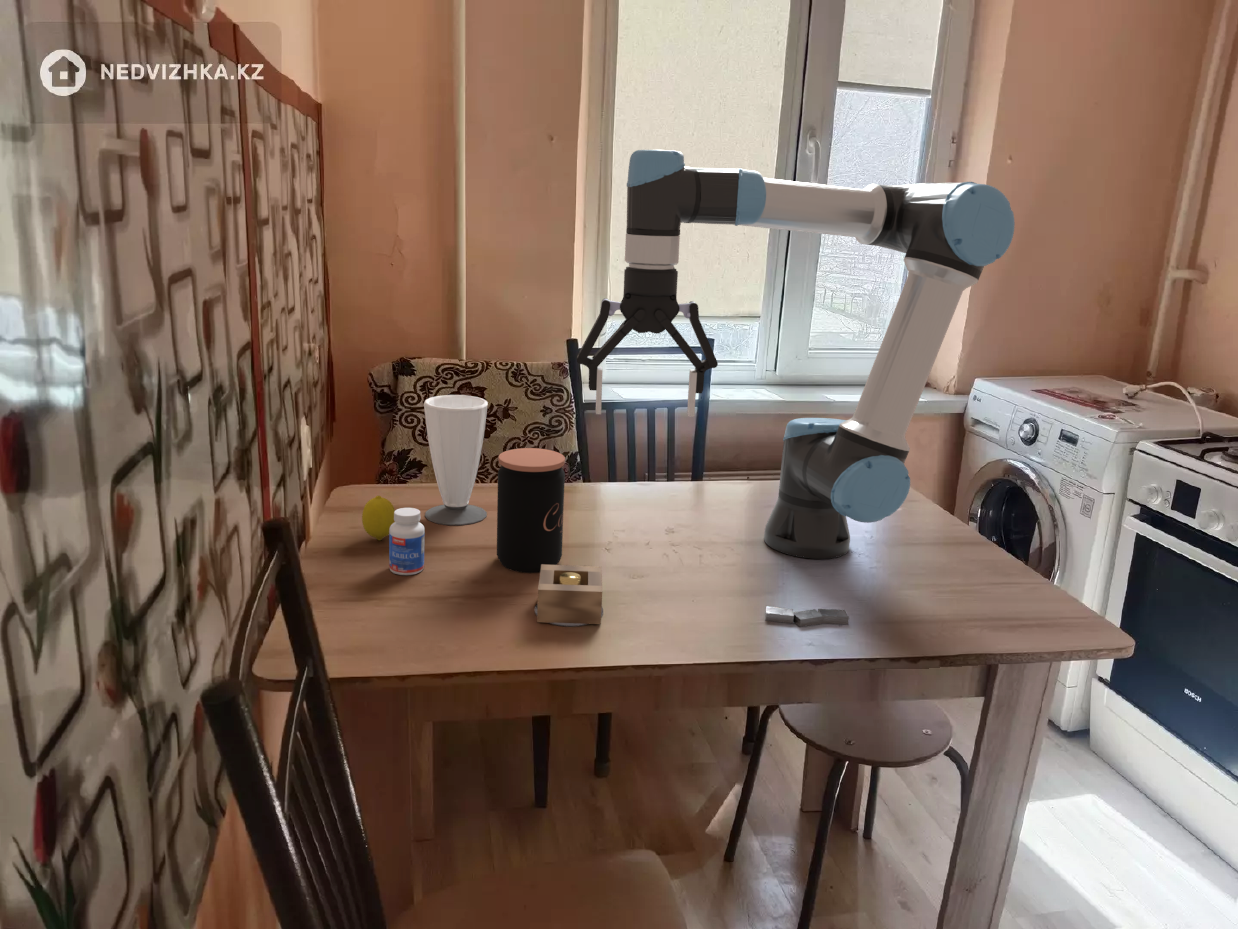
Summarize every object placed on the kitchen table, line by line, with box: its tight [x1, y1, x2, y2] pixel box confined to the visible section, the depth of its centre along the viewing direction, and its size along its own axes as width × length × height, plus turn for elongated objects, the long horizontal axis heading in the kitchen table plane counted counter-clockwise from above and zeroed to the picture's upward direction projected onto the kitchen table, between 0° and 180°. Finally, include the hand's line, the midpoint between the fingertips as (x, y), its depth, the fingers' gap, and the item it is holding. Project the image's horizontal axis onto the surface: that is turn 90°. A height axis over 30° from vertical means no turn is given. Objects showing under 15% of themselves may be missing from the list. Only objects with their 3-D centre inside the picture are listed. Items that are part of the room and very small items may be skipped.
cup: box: [423, 394, 489, 526], centre depth 167 cm, size 12×12×22 cm
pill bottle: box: [388, 507, 426, 576], centre depth 144 cm, size 6×5×10 cm
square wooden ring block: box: [536, 564, 603, 625], centre depth 133 cm, size 9×9×5 cm
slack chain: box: [764, 605, 850, 628], centre depth 134 cm, size 12×4×1 cm, turn 92°
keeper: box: [534, 572, 604, 628], centre depth 133 cm, size 10×10×6 cm
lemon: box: [361, 495, 395, 541], centre depth 155 cm, size 6×6×8 cm
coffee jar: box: [496, 447, 566, 574], centre depth 148 cm, size 11×11×18 cm
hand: (644, 413), depth 134 cm, fingers open, 13 cm apart
